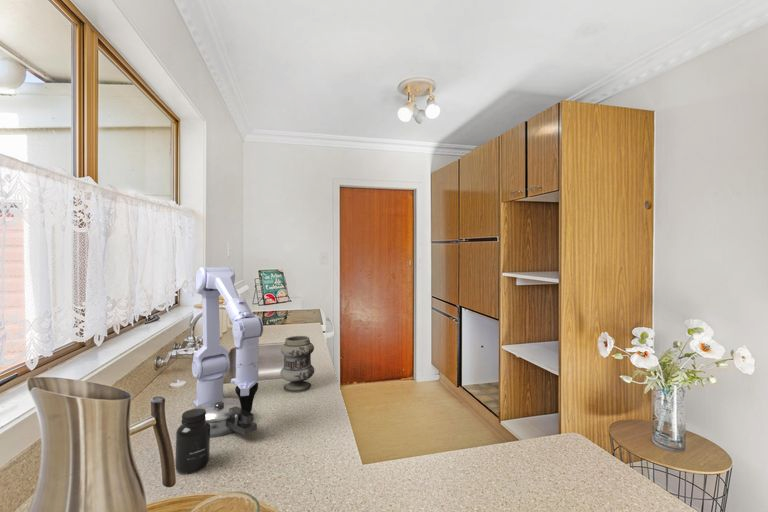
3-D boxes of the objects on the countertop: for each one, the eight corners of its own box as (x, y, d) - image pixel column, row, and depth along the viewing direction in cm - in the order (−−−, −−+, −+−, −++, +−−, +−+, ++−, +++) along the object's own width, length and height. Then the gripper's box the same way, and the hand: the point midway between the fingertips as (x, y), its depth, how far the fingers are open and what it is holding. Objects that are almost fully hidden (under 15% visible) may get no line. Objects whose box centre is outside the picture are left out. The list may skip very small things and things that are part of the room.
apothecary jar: (295, 379, 135) (296, 332, 135) (321, 385, 129) (321, 336, 129) (272, 390, 124) (273, 339, 124) (299, 396, 118) (299, 343, 118)
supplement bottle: (194, 476, 75) (195, 421, 75) (167, 472, 76) (168, 417, 76) (216, 458, 82) (216, 407, 82) (191, 455, 83) (191, 404, 83)
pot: (183, 428, 96) (183, 404, 96) (227, 411, 107) (227, 389, 107) (227, 452, 84) (227, 425, 84) (271, 430, 95) (271, 406, 95)
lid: (181, 412, 96) (182, 403, 96) (228, 396, 107) (228, 388, 107) (224, 436, 84) (224, 425, 84) (272, 415, 95) (272, 406, 95)
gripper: (234, 355, 100) (234, 403, 100) (227, 372, 86) (226, 427, 86) (260, 354, 102) (260, 400, 102) (257, 369, 88) (257, 423, 88)
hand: (246, 412), depth 94 cm, fingers closed
